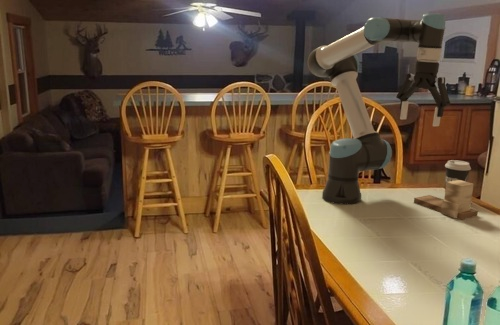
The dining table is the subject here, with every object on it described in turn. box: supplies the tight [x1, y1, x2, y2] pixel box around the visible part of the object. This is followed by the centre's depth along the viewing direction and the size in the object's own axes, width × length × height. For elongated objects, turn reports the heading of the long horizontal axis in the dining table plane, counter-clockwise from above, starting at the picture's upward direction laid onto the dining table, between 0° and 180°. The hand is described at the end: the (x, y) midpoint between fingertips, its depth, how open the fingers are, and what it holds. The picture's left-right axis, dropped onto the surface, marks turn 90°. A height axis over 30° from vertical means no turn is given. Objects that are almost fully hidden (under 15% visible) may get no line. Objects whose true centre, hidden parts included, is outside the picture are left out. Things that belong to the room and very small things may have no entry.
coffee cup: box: [444, 159, 472, 191], centre depth 189 cm, size 10×10×15 cm
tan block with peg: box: [440, 180, 474, 219], centre depth 170 cm, size 6×10×12 cm, turn 121°
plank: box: [413, 194, 479, 221], centre depth 177 cm, size 21×9×2 cm, turn 31°
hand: (418, 122), depth 166 cm, fingers open, 13 cm apart
